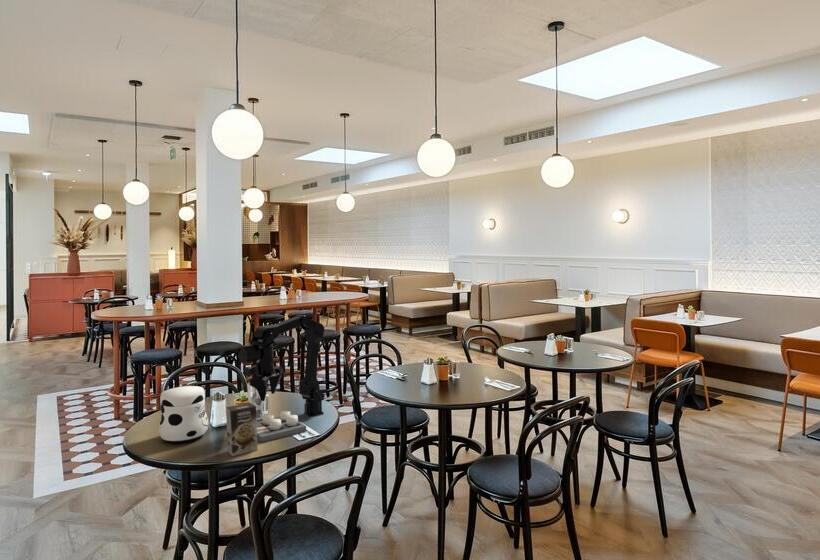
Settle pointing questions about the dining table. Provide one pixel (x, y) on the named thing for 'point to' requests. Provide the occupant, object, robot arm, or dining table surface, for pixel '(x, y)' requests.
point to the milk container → (183, 414)
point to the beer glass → (256, 401)
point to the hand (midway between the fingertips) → (268, 397)
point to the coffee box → (241, 429)
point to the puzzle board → (277, 431)
